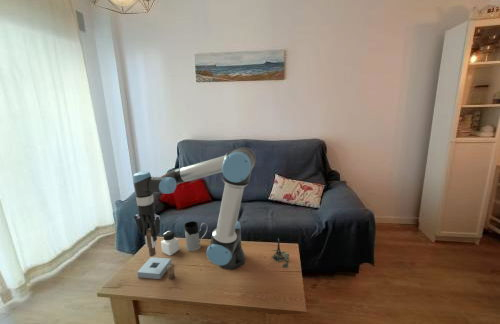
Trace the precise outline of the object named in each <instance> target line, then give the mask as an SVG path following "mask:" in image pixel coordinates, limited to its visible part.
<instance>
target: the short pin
mask: <svg viewBox="0 0 500 324" xmlns="http://www.w3.org/2000/svg"><path fill="white" fill-rule="evenodd" d="M174 269H175V268H174V265H173V264H171V265H168V266H167V271H166V272H167V277H168V278H167V279H168V280H174V278H175V270H174Z"/></svg>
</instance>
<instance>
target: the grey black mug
mask: <svg viewBox="0 0 500 324" xmlns="http://www.w3.org/2000/svg"><path fill="white" fill-rule="evenodd" d="M204 224H205V225H206V231H205V232H204V234H203V235H202V236H201V237H200V233H199V232H200V231H202V226H203V225H204ZM208 229H209V226H208V224H207V223H206V222H202V223H201V225H200V229H199V224H198V222H197V221H193V220H192V221H188V222H185V223H184V235H185V245H186V247H185V250H186V251H188V252H195V251H198V250H200V248H201V246H202V244H201V241H202V239H203V238H204V237H205V236H206V235H207V233H208Z"/></svg>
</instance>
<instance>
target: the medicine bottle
mask: <svg viewBox="0 0 500 324" xmlns="http://www.w3.org/2000/svg"><path fill="white" fill-rule="evenodd" d="M162 235H163V240H161V241H160V244H161V246H160V247H161V252H162V253H163V254H166V255H168V256H172V255H174V254H175V253H176V252H178V251H180V242H179V239H178V238H176V237H175V235H176V234H175V232H174V231H173V230H167V231H166V232H164V233H163V234H162Z"/></svg>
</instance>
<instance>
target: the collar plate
mask: <svg viewBox="0 0 500 324" xmlns="http://www.w3.org/2000/svg"><path fill="white" fill-rule="evenodd" d="M168 265H173V264H172V259H171V258H167V257H166V258H165V257H154V256H150V257H149V258H148V260H147V261H146V262H145V263H143V265H142V266H141V267H140V269H138V270H137V271H136V272H137V277H138V278H145V279H153V280H154V279H155V280H161V279H162V277H163V276H164V275H165V273H166V272H167V266H168Z"/></svg>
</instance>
